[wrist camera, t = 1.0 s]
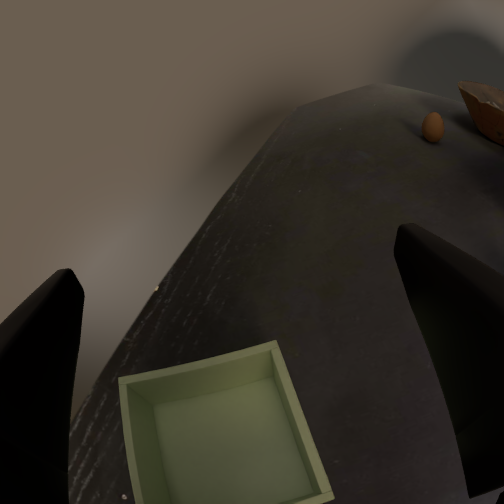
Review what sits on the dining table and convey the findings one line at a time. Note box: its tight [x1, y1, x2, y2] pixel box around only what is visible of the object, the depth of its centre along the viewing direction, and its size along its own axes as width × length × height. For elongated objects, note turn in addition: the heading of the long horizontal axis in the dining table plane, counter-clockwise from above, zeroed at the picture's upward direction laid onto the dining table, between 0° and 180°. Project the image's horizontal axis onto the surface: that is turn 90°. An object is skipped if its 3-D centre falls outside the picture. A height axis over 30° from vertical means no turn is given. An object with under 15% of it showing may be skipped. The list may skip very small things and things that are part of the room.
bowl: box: [458, 81, 504, 146], centre depth 47 cm, size 25×25×10 cm
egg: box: [422, 112, 444, 142], centre depth 47 cm, size 4×4×6 cm
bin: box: [118, 340, 335, 504], centre depth 18 cm, size 11×11×6 cm
